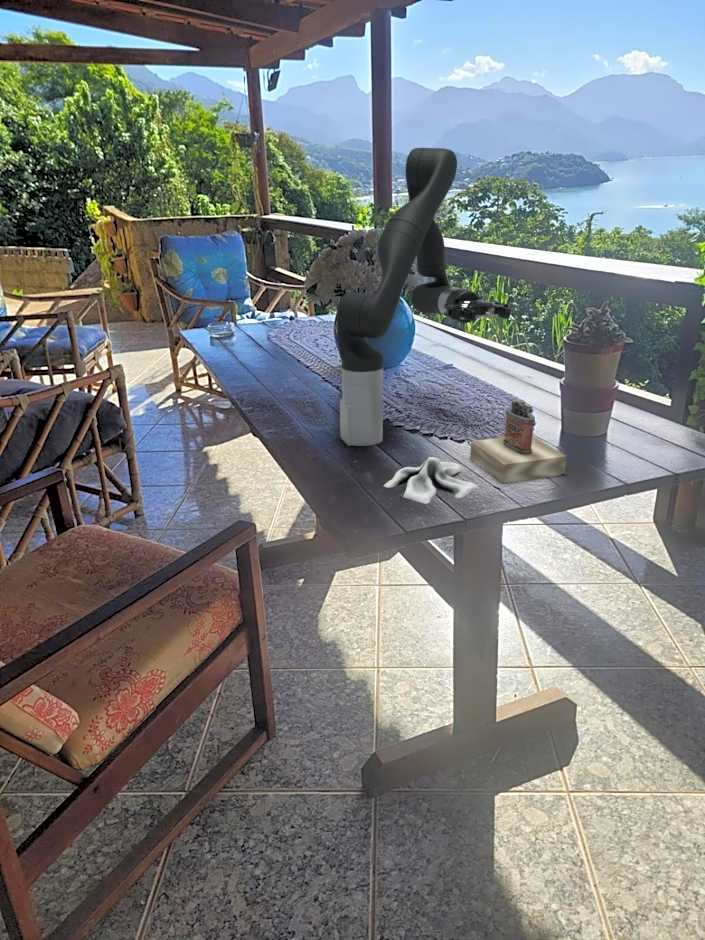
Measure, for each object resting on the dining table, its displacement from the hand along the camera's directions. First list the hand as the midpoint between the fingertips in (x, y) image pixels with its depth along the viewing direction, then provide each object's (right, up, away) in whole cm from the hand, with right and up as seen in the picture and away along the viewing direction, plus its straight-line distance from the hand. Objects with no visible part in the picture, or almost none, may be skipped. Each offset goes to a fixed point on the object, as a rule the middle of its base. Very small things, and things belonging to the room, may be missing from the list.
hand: (491, 314), depth 147 cm
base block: (+3, -34, -8) cm, 35 cm away
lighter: (+3, -30, -9) cm, 32 cm away
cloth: (-16, -38, -15) cm, 44 cm away
